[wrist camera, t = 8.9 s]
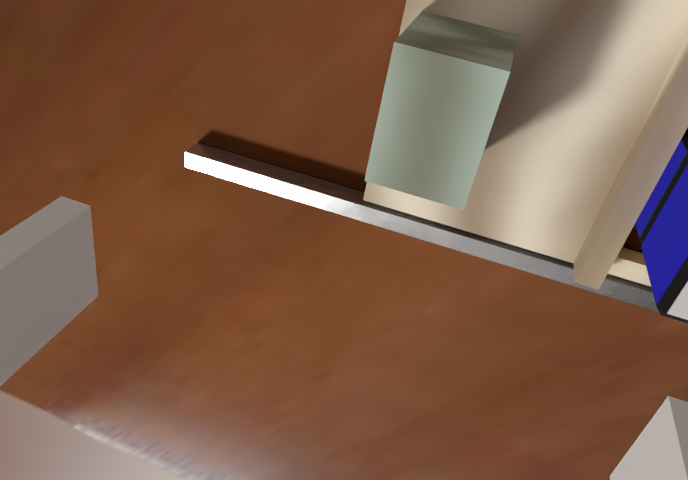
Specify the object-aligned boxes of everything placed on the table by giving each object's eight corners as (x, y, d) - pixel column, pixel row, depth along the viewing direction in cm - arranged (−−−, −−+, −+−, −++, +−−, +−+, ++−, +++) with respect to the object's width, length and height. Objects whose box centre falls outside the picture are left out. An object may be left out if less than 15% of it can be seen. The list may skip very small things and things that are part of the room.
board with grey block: (1086, 35, 22) (1287, 96, 16) (828, 327, 30) (896, 437, 24) (434, -107, 25) (400, -101, 19) (368, 190, 34) (330, 257, 28)
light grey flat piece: (934, -40, 22) (957, -35, 21) (695, 307, 32) (701, 325, 31) (205, -192, 26) (189, -195, 25) (196, 156, 36) (184, 166, 35)
